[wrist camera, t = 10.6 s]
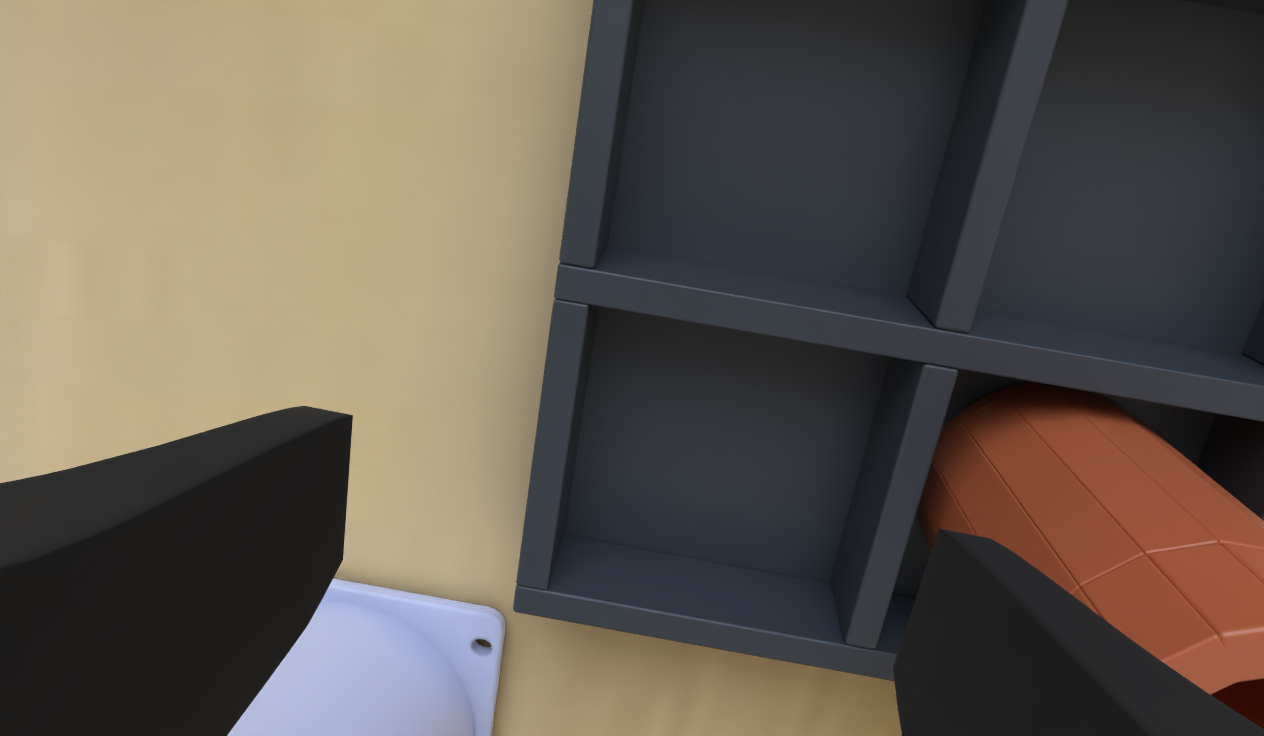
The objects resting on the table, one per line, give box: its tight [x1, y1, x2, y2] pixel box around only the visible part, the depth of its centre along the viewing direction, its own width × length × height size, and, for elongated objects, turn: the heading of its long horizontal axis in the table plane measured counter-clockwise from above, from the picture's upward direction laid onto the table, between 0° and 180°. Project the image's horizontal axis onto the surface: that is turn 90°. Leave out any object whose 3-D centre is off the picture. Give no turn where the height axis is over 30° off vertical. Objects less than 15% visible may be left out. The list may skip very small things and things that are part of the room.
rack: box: [513, 0, 1264, 681], centre depth 17 cm, size 22×15×3 cm
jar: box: [917, 382, 1264, 729], centre depth 16 cm, size 5×5×9 cm
